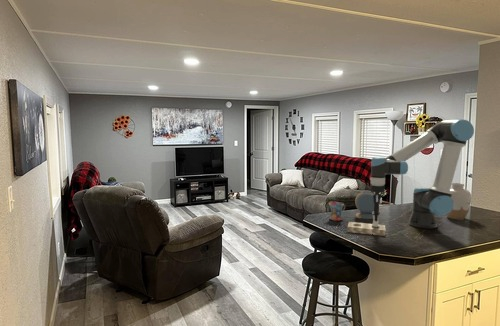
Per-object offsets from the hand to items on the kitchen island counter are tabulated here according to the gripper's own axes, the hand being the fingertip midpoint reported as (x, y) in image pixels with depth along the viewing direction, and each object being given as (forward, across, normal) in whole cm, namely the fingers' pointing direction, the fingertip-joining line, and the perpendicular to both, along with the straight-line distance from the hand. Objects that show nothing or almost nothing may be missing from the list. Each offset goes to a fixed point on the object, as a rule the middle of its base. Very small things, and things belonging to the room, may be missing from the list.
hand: (375, 225), depth 191 cm
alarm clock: (+4, -34, -6) cm, 35 cm away
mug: (+4, -20, -23) cm, 31 cm away
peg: (+3, 0, 0) cm, 3 cm away
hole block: (+4, 0, -5) cm, 6 cm away
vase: (+4, -52, +50) cm, 72 cm away
